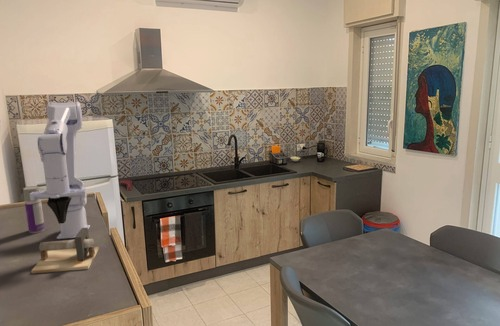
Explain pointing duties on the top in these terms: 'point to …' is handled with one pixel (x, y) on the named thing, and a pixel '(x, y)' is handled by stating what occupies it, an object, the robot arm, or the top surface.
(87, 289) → the top surface
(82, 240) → the collar
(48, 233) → the top surface
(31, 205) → the container
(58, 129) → the robot arm
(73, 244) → the pipe stand
